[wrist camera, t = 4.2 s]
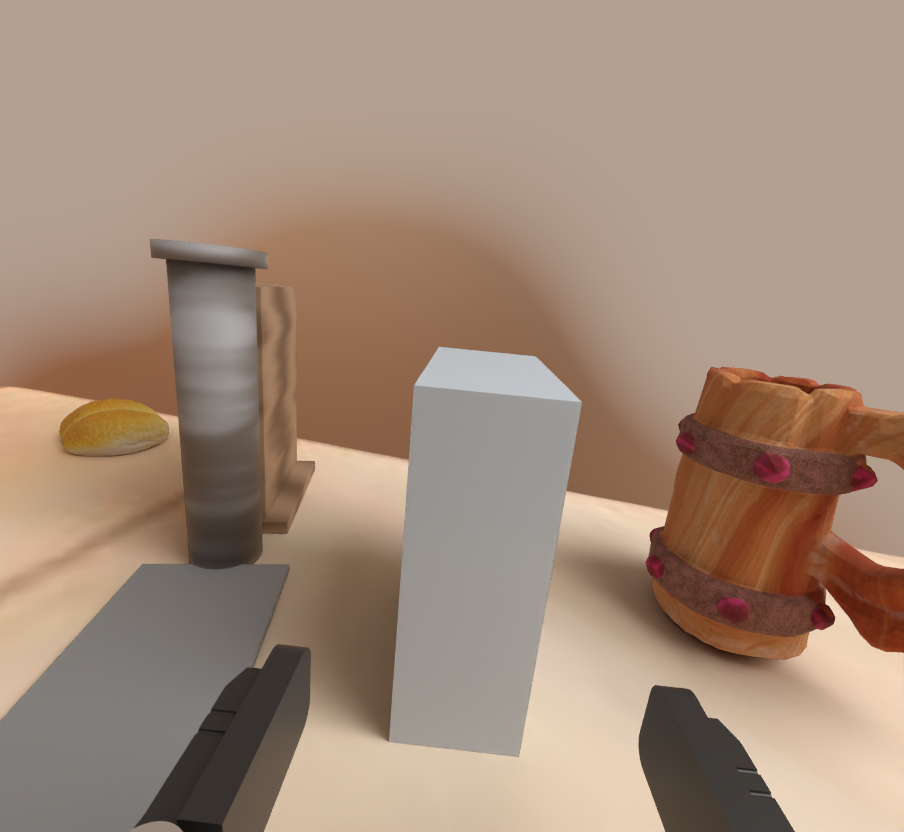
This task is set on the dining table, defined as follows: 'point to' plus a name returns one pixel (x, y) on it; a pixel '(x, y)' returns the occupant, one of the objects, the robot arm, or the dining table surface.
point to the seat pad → (130, 696)
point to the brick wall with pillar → (233, 400)
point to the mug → (774, 516)
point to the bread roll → (112, 428)
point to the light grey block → (478, 546)
